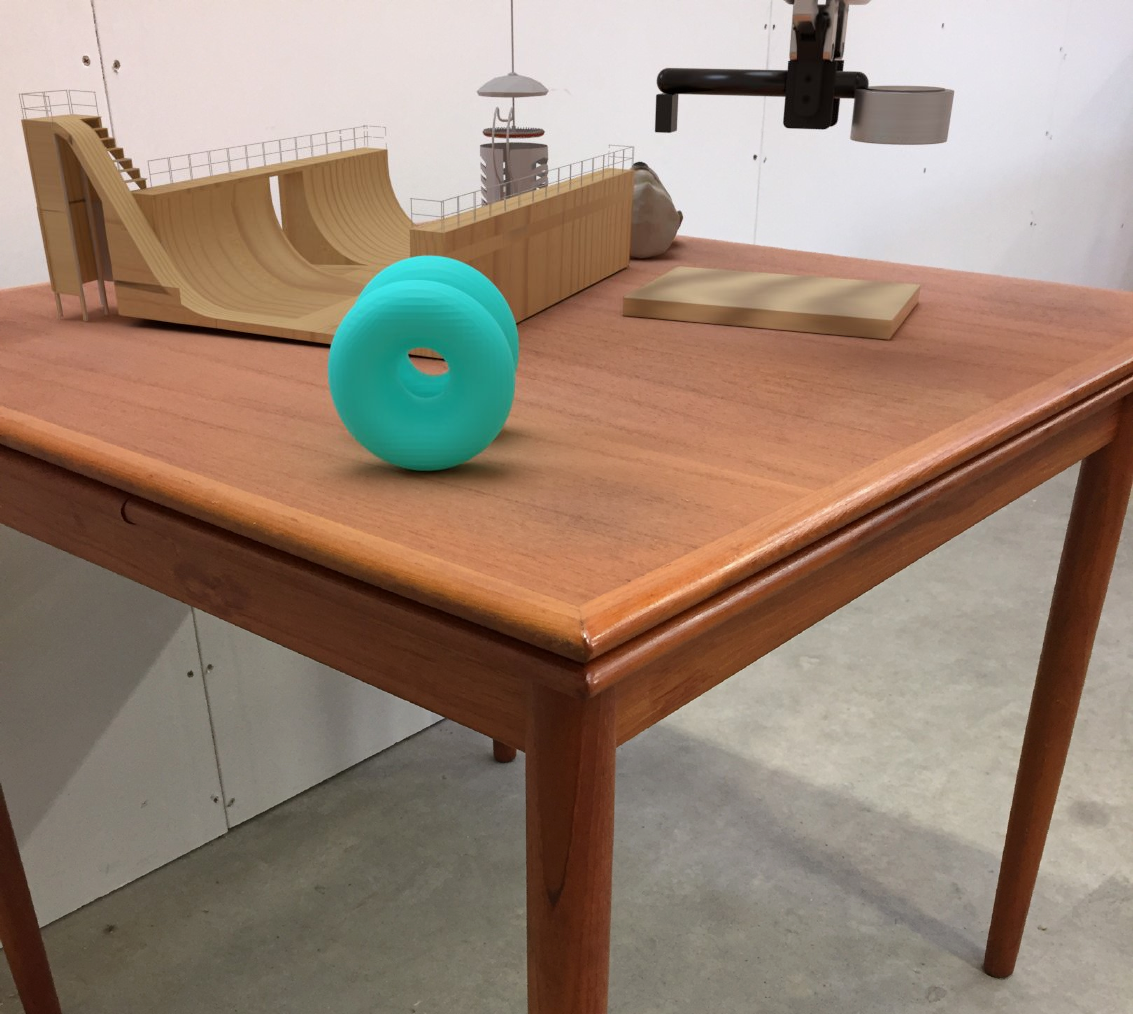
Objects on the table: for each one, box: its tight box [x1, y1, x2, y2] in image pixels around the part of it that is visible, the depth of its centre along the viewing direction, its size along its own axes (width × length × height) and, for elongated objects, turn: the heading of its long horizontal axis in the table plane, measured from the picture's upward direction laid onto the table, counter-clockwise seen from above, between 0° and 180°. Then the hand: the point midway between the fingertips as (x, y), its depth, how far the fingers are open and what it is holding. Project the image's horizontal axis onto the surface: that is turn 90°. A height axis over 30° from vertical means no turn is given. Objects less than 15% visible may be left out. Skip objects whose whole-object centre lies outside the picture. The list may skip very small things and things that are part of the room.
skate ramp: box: [18, 89, 635, 360], centre depth 106 cm, size 40×35×16 cm
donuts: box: [327, 256, 520, 472], centre depth 69 cm, size 10×10×10 cm
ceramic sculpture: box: [628, 161, 684, 259], centre depth 126 cm, size 11×9×15 cm
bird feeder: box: [476, 0, 550, 207], centre depth 137 cm, size 10×12×25 cm
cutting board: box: [622, 265, 922, 341], centre depth 104 cm, size 22×15×2 cm
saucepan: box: [654, 67, 955, 146], centre depth 84 cm, size 20×6×4 cm, turn 69°
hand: (810, 124), depth 84 cm, fingers closed on saucepan
